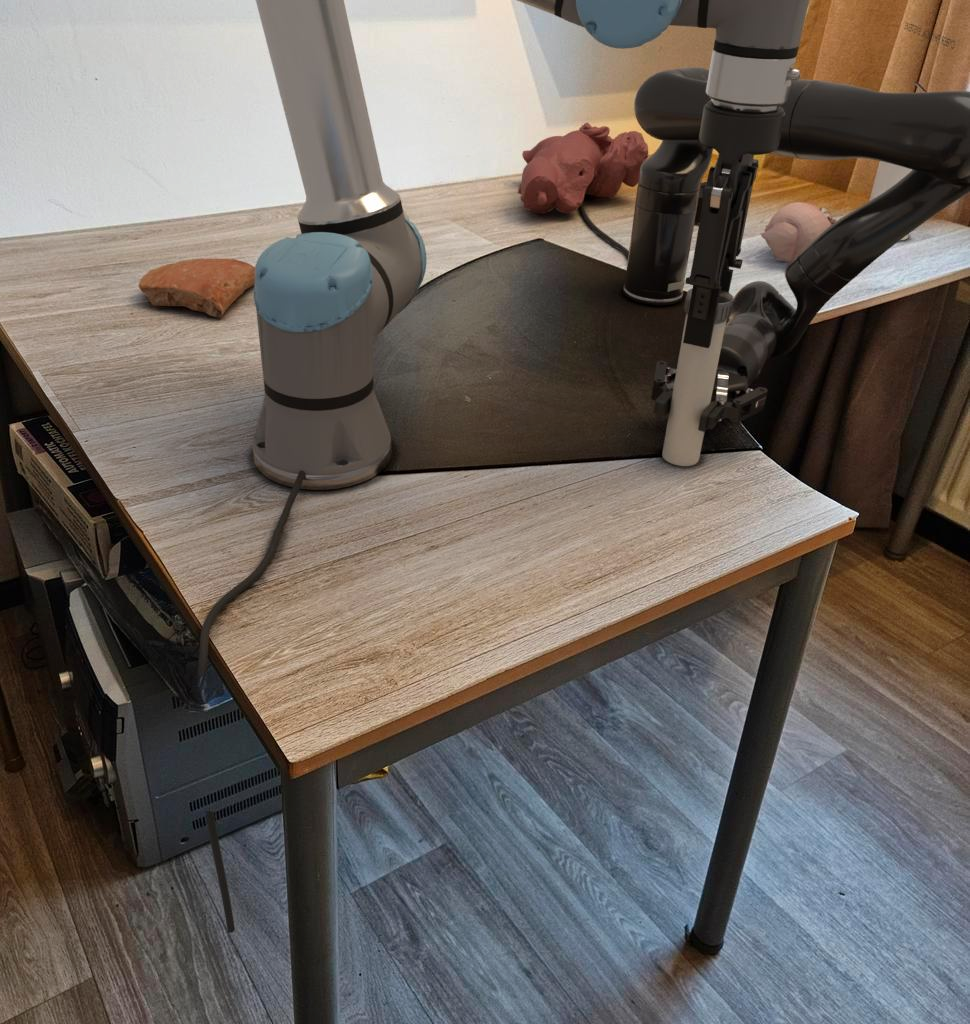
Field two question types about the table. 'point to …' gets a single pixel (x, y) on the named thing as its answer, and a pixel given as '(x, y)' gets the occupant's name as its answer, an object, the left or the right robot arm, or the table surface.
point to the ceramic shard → (198, 284)
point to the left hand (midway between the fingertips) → (703, 334)
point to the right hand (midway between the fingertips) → (681, 417)
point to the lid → (723, 305)
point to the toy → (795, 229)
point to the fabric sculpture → (580, 168)
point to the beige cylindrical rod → (691, 398)
